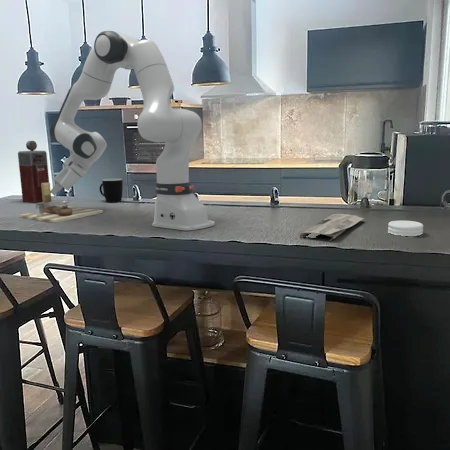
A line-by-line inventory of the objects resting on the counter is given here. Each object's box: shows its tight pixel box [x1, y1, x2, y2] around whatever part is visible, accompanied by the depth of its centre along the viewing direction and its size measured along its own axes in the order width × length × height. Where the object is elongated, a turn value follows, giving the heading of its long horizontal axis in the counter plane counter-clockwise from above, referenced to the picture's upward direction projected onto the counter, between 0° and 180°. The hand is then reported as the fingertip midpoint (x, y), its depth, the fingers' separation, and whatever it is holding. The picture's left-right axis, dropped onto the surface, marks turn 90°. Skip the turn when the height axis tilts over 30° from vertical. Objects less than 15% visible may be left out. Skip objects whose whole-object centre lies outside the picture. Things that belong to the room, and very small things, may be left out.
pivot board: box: [18, 205, 104, 223], centre depth 185 cm, size 21×23×1 cm
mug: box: [99, 178, 124, 204], centre depth 218 cm, size 12×9×10 cm
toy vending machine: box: [17, 140, 50, 204], centre depth 219 cm, size 9×11×28 cm
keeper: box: [34, 200, 70, 216], centre depth 179 cm, size 10×10×5 cm
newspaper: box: [298, 213, 365, 241], centre depth 152 cm, size 35×12×4 cm, turn 152°
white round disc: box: [387, 220, 424, 236], centre depth 144 cm, size 10×10×4 cm
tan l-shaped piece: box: [41, 182, 72, 215], centre depth 182 cm, size 16×5×11 cm, turn 52°
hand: (52, 193), depth 187 cm, fingers closed
